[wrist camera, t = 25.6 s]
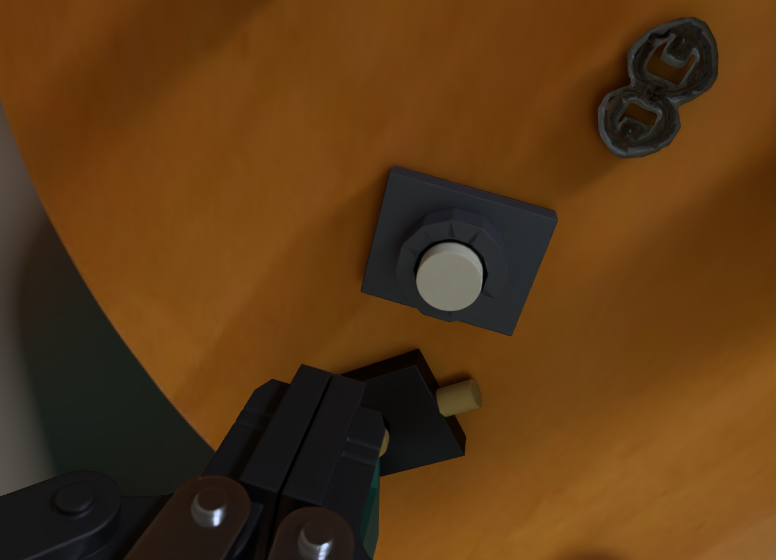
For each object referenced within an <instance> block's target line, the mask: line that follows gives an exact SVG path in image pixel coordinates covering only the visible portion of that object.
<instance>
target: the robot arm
mask: <svg viewBox="0 0 776 560" xmlns="http://www.w3.org/2000/svg"><path fill="white" fill-rule="evenodd" d="M332 377H333V378H332ZM364 387H365V383H364V382H361V381H358V380H354V379H351V378H348V377H344V376H341V375H338V374H334V376H333V373H331V372H327V371H324V370H321V369H318V368H314V367H311V366H308V365H304V364H301V366H300V367H299V369H298V371H297V373H296V374H295V376H294V378H293V380H292V382H291V384H288V383H284V382H281V381H278V380H275V379H271V380H270V381H268V382H267V383H265V384H263V385H262V386H260V387H259V388H257V389H256V390H254V392H253V394H252V395H251V397H250V398H249V400H248V402H247V403H246V405H245V407H244V410H242V411H241V413H240V414H239V416H238V418H237V419H236V422H235V423H234V424H233V426H232V427H231V429H230V431H229V432H228V434H227V435H226V437H225V439H224V440H223V442H222V443H221V445H220V447H219V448H218V450H217V451H216V453H215V455H214V456H213V458H212V459H211V461H210V463H209V464H208V466H207V468H206V469H205V471H204V472H203V473H202V475H201V476H200V477H197V478H194V479H192V480H190V481H188V482H186V483H184V484H183V485H182V486H180V487H179V488H178V489H177V490H176V492H175V493H172V494H168V495H162V496H121V491H120V488H119V486H118V485H117V483H116V482H115V481H114V480H113V479H112V478H111V477H109V476H107V475H106V474H103V473H100V472H96V471H88V470H83V471H74V472H69V473H66V474H62V475H59V476H56V477H54V478H51V479H48V480H45V481H42V482H40V483H37V484H34V485H31V486H28V487H26V488H23V489H20V490H17V491H14V492H12V493H9V494H6V495H3V496H0V560H372V559H371V558H370V557H369V555H368V554H367V552H366V550H365V548H364V546H363V543H362V540H361V535H360V526H361V521H362V517H363V513H364V510H365V506H366V502H367V498H368V495H369V491H370V487H371V484H372V480H373V476H374V472H375V469H376V465H377V461H378V457H379V454H380V450H381V446H382V443H383V439H384V435H385V431H386V429H385V425H384V421H383V418H382V414H381V412H380V411H377V410H373V409H370V408H367V407H364V406H360V402H361V399H362V395H363V391H364Z"/></svg>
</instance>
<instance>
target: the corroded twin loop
mask: <svg viewBox="0 0 776 560" xmlns="http://www.w3.org/2000/svg"><path fill="white" fill-rule="evenodd" d="M666 42H667V45H666V47H665V48H664V50H663V53H662V56H661V58H660V59H661V60H662V61H664V62H665V63H667V64H669V65H670V66H672V67H678V68H683V67H684V66H685V65H686V64H687V63H688V62H689V60H690V58H691V57H692V56H693V55H695V56H696V58H695V60H694V62H693V64H692V65H691V67H690V69H689V70H688V72H687V73H686V75H685V77H684V78H683V80H682V81H681V83H680V84H679V85H675V84H673V83H671V82H669V81H667V80H665V79H663V78H661V77H659V76H656V75H654V74H651V73H650V72H649V71H648V70H647V63H648V62H649V60H650V59H651V57H652V56H653V54H654V52H655V50H656V49H657V48H658V47H659V46H660V45H662V44H663V43H666ZM627 64H628V66H627V69H628V74H629V77H630V79H631V83H630V85H628V86H625V87H623V88H620V89H618V90H614V91H612V92H610V93H608V94H607V95H606V96H605V98H604V100H603V101H602V103H601V105H600V107H599V108H598V116H599V121H598V126H599V132H600V136H601V139H602V140H603V141H604V143H605V144H606V146H607V147H608V149H609V150H610V151H611V153H612V154H613V155H615V156H617V157H619V158H621V159H626V158H637V157H644V156H646V155H649V154H652V153H655V152H658V151H660V150H661V149H662V148H664V147H666V146H668V145H669V144H670V143H671V142H672V140H673V139H674V137H675V136H676V134H677V133H678V131H679V129H680V127H681V124H680V119H679V113H678V107H679V106H681V105H682V104H684V103H687V102H690V101H691V100H693V99H695V98H696V97H698V96H700V95H701V94H703V93H704V92H706V91H708V90H709V89H710V88H711V86H712V85H713V83H714V82H715V80H716V79H717V75H718V50H717V43H716V41H715V38H714V36H713V34H712V32H711V30H710V28H709V26H708V25H707V24H706V23H705V22H703V21H701V20H699V19H697V18H694V17H690V18H679V19H675V20H672V21H669V22H667V23H664V24H662V25H659V26H657V27H654V28H652V29H650V30H647V31H646V32H645V33H644V34H643V35H642V36H641V37H640V38H638V39H637V40H636V42H635V43H634V44H633V45H632V46H631V47H630V49H629V51H628V55H627ZM632 103H634V104H636V105H639V106H640V107H642V108H643V109H646V110H648V111H652V112H654V113H656V115H657V119H656V121H655V123H654V124H653V126H652V128H651V129H650V131H649V132H648V134H647V131H648V130H649V128H650V126H648V125H646V124H644V123H642V122H639V121H637V120H634V119H632V118H629V117H627V116H625V117H624V118H623V120H622V121H621V122H619V120H620V118H621V116H622V115H623V113H624V111H625V110H626V108H627V107H628V105H629V104H632Z"/></svg>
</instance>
